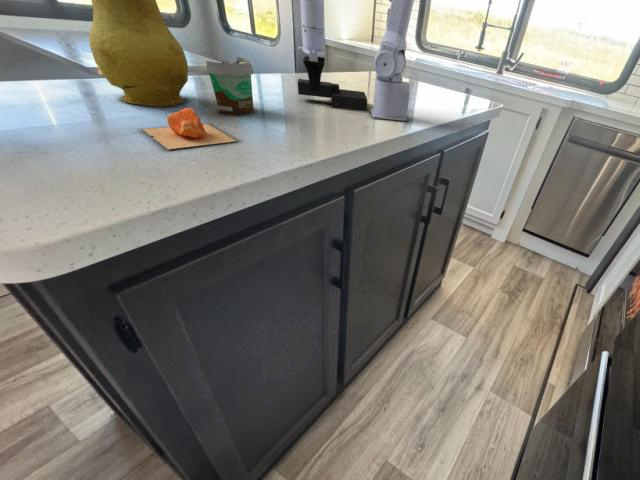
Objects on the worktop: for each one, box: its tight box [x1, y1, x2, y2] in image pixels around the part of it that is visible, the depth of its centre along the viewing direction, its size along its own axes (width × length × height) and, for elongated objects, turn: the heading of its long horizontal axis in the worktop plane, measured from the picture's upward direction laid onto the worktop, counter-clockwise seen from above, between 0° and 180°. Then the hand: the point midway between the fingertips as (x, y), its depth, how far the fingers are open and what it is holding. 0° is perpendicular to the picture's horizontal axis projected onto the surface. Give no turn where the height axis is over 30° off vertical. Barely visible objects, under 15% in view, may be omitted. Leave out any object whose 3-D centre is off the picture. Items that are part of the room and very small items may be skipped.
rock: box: [141, 107, 236, 150], centre depth 62 cm, size 12×12×4 cm
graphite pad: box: [330, 88, 368, 112], centre depth 98 cm, size 10×10×3 cm
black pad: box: [297, 78, 340, 99], centre depth 95 cm, size 11×5×3 cm, turn 99°
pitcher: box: [88, 0, 189, 107], centre depth 71 cm, size 17×19×25 cm
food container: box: [206, 56, 254, 116], centre depth 77 cm, size 12×6×10 cm, turn 168°
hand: (315, 88), depth 95 cm, fingers closed on black pad, 5 cm apart
